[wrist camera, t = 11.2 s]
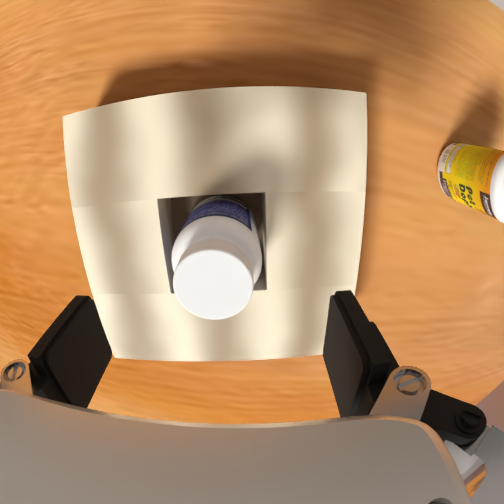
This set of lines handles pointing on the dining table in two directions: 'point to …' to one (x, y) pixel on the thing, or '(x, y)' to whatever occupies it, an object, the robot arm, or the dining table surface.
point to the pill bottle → (217, 258)
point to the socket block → (219, 184)
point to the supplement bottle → (474, 177)
